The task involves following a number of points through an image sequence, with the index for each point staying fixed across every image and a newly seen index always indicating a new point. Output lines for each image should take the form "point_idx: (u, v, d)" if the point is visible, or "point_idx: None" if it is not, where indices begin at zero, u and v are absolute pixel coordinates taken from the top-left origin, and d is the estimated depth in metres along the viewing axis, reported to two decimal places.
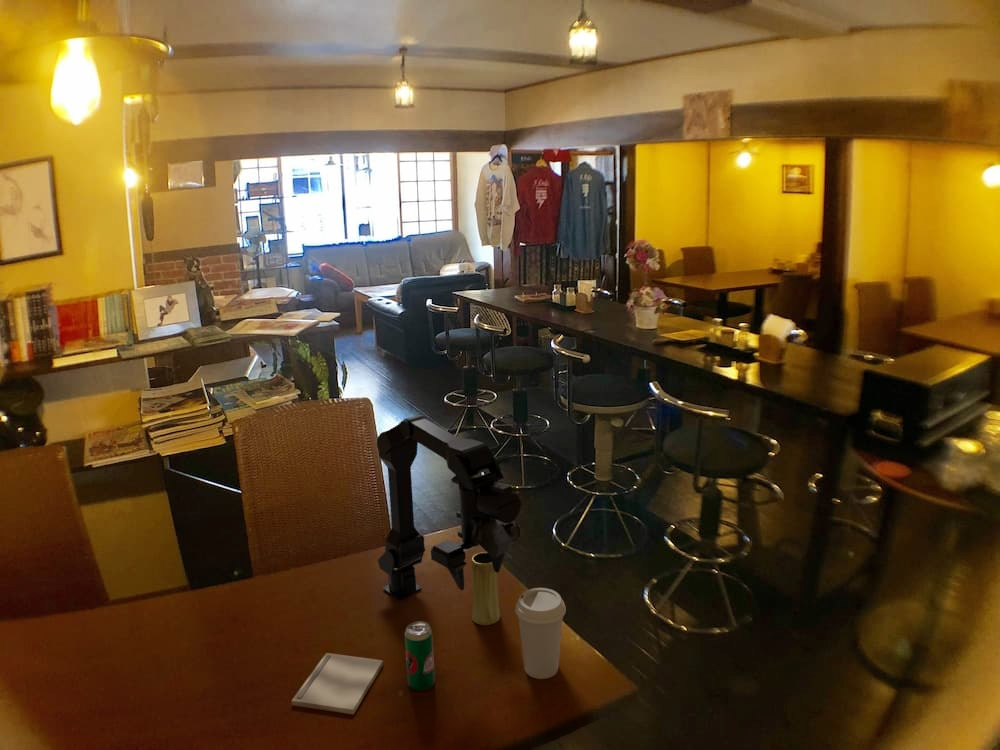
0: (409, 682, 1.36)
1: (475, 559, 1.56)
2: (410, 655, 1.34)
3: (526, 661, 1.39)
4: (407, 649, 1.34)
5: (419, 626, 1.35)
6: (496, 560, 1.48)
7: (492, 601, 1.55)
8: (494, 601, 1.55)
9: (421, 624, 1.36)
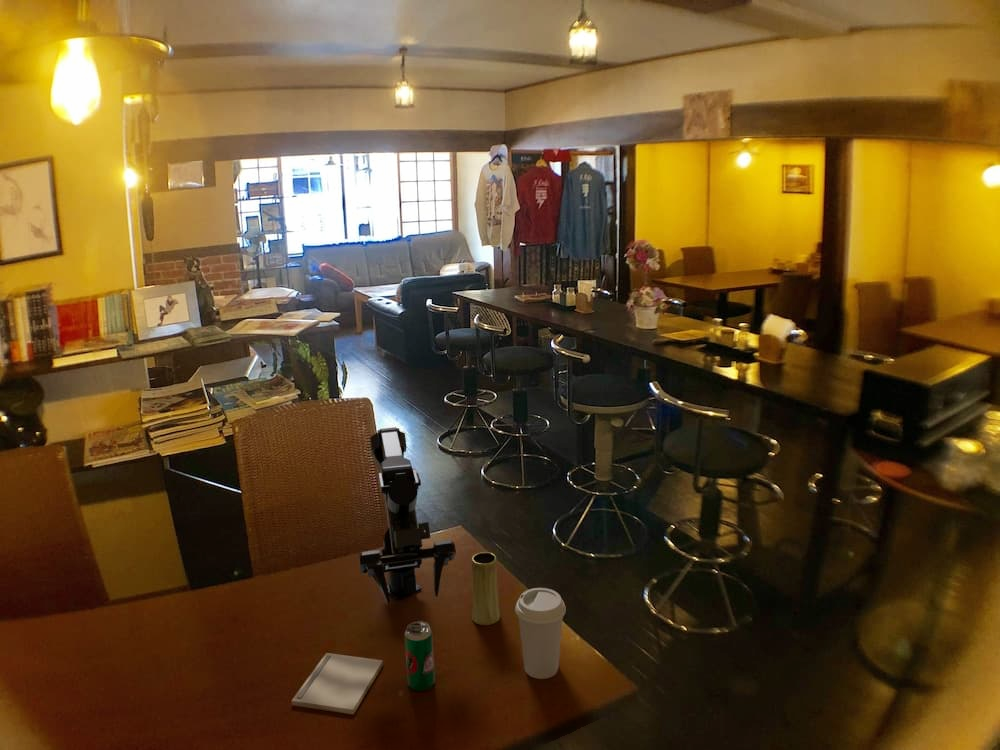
0: (409, 682, 1.36)
1: (475, 559, 1.56)
2: (410, 655, 1.34)
3: (526, 661, 1.39)
4: (407, 649, 1.34)
5: (419, 626, 1.36)
6: (434, 582, 1.44)
7: (492, 601, 1.55)
8: (494, 601, 1.55)
9: (421, 624, 1.36)
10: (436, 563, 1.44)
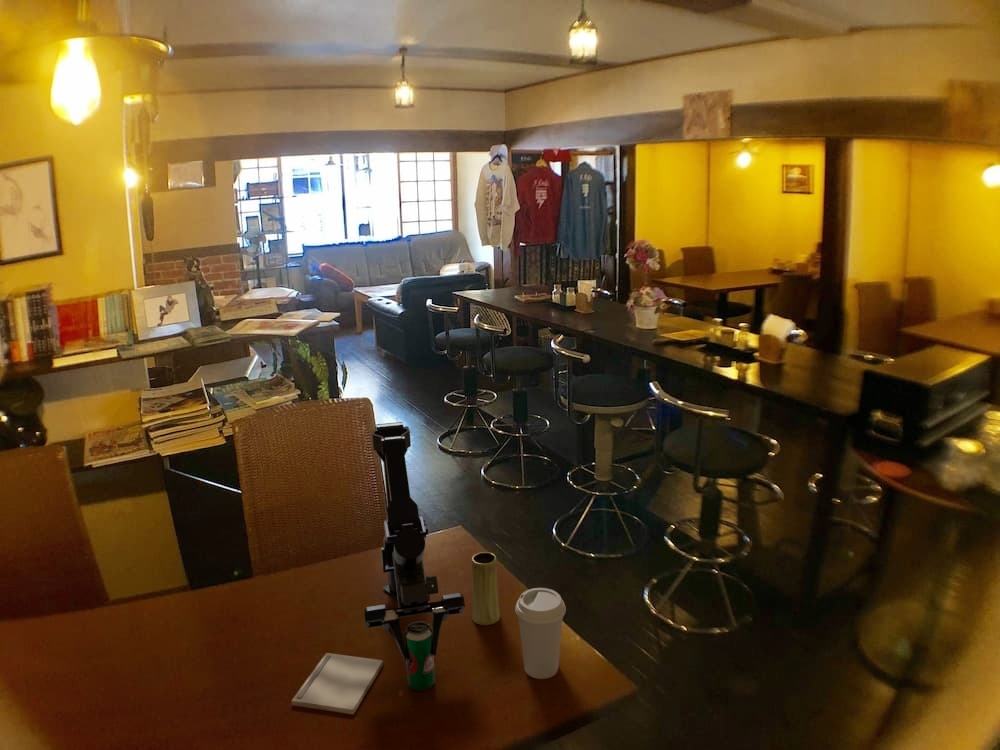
0: (409, 682, 1.36)
1: (475, 559, 1.56)
2: (410, 655, 1.34)
3: (526, 661, 1.39)
4: (407, 649, 1.34)
5: (419, 626, 1.35)
6: None
7: (492, 601, 1.55)
8: (494, 601, 1.55)
9: (421, 624, 1.36)
10: (434, 620, 1.37)
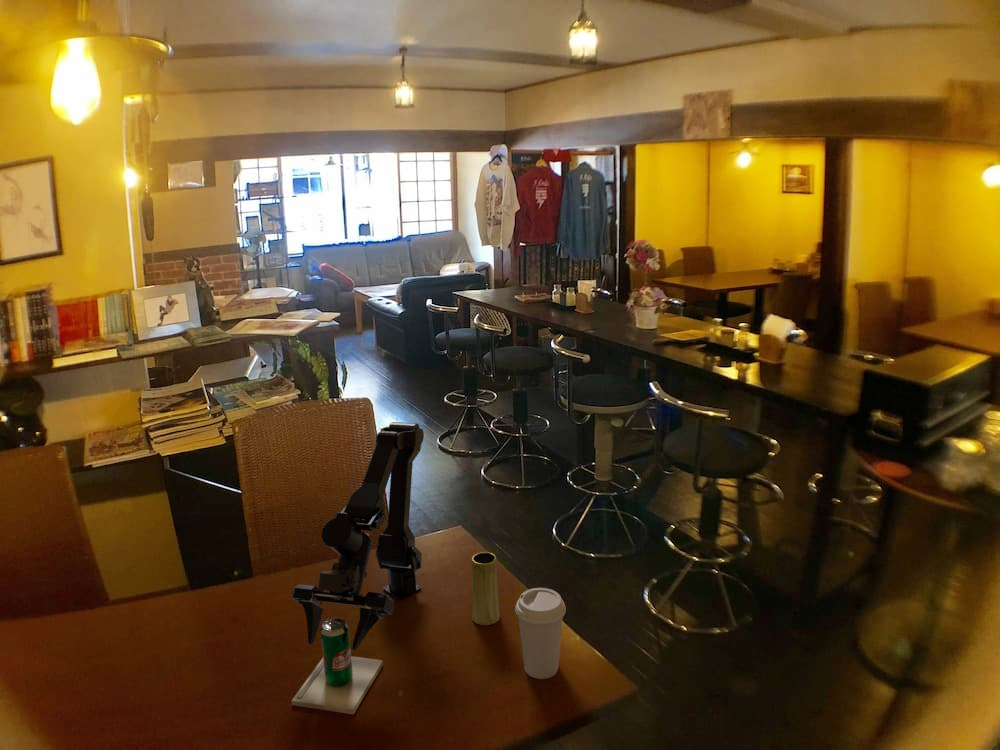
0: None
1: (475, 559, 1.56)
2: (322, 648, 1.35)
3: (526, 661, 1.39)
4: (321, 641, 1.36)
5: (336, 622, 1.36)
6: None
7: (492, 601, 1.55)
8: (494, 601, 1.55)
9: (340, 621, 1.36)
10: (361, 615, 1.35)
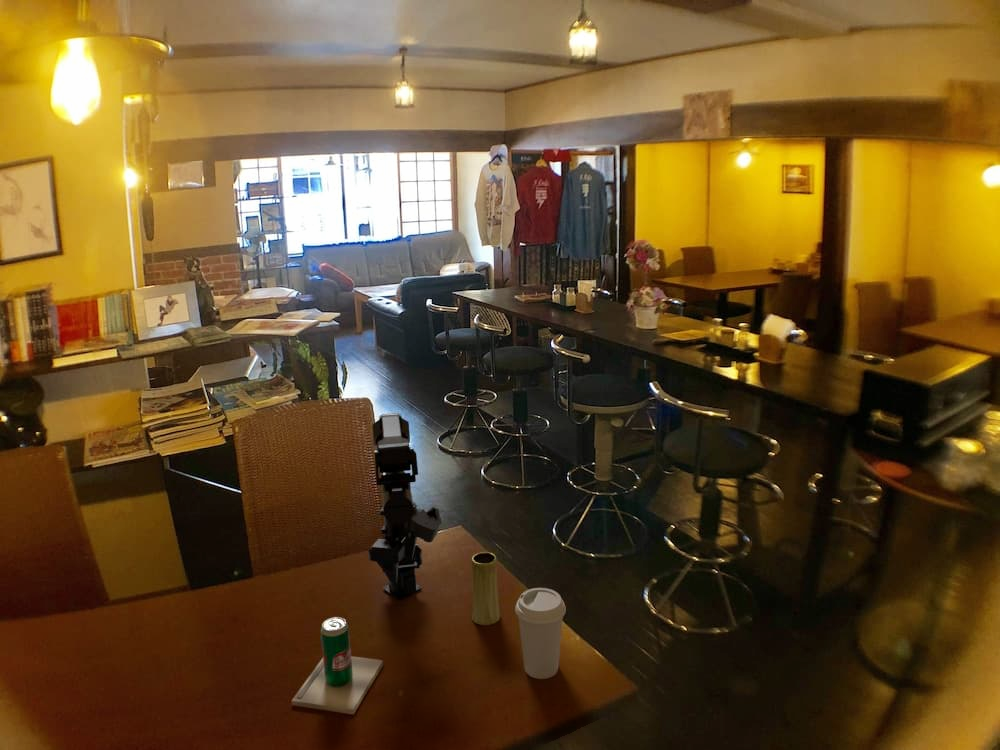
0: None
1: (475, 559, 1.56)
2: (322, 648, 1.35)
3: (526, 661, 1.39)
4: (321, 641, 1.36)
5: (336, 622, 1.36)
6: (409, 549, 1.56)
7: (492, 601, 1.55)
8: (494, 601, 1.55)
9: (340, 621, 1.36)
10: None
